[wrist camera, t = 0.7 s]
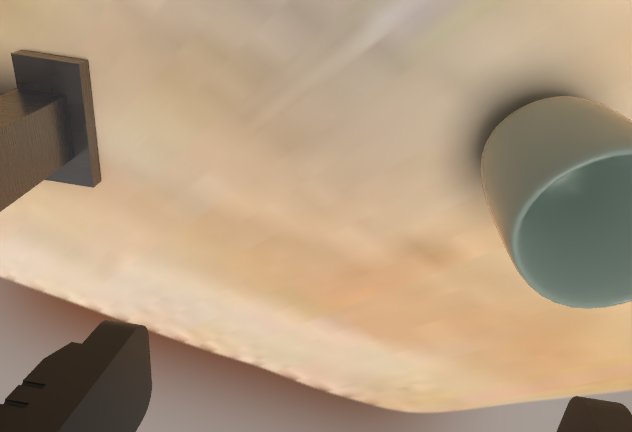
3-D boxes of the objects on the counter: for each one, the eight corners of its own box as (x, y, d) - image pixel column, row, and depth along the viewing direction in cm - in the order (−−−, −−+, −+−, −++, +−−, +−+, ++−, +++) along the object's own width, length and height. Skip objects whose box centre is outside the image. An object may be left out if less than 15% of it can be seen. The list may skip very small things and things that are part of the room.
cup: (505, 225, 31) (556, 334, 22) (444, 131, 28) (477, 213, 20) (629, 163, 28) (743, 260, 20) (575, 51, 26) (680, 107, 17)
